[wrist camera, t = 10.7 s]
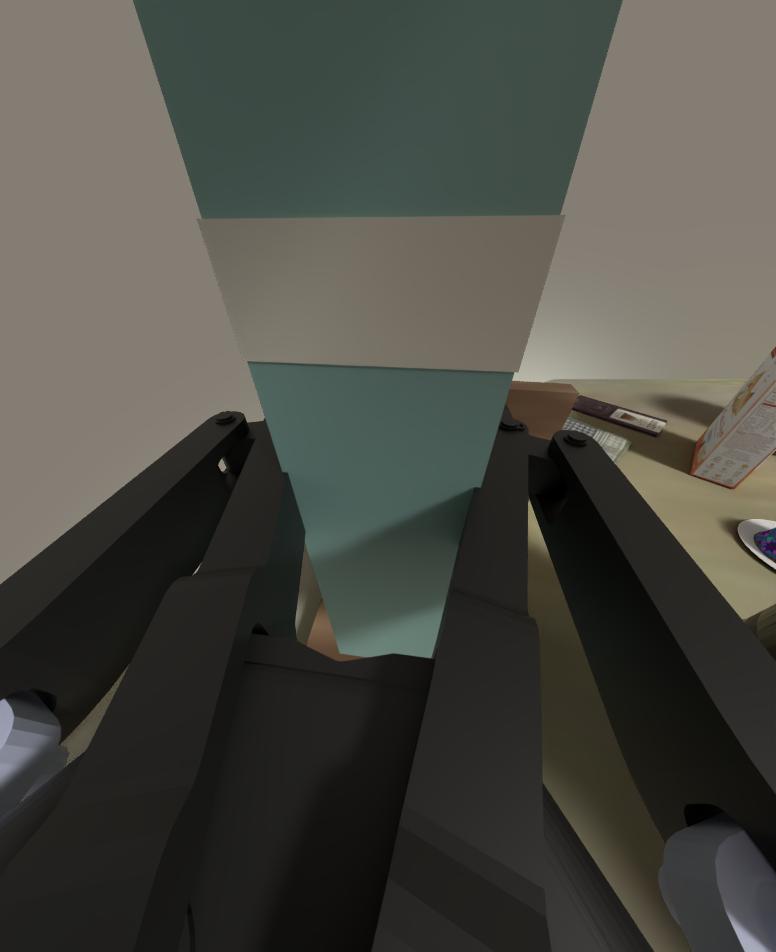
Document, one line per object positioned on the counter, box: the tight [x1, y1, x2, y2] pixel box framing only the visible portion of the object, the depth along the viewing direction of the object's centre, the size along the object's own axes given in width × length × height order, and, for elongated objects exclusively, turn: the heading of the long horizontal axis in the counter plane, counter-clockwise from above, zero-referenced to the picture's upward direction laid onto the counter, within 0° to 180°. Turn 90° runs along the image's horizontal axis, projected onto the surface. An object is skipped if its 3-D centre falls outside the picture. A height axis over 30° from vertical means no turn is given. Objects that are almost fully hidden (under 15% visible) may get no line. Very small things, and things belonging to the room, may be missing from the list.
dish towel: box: [562, 416, 632, 464], centre depth 53 cm, size 19×18×3 cm
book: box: [133, 0, 623, 658], centre depth 13 cm, size 5×10×20 cm, turn 173°
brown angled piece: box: [306, 381, 579, 661], centre depth 22 cm, size 18×18×22 cm
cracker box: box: [690, 347, 776, 489], centre depth 43 cm, size 14×6×21 cm, turn 136°
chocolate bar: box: [571, 395, 667, 437], centre depth 64 cm, size 9×1×18 cm
